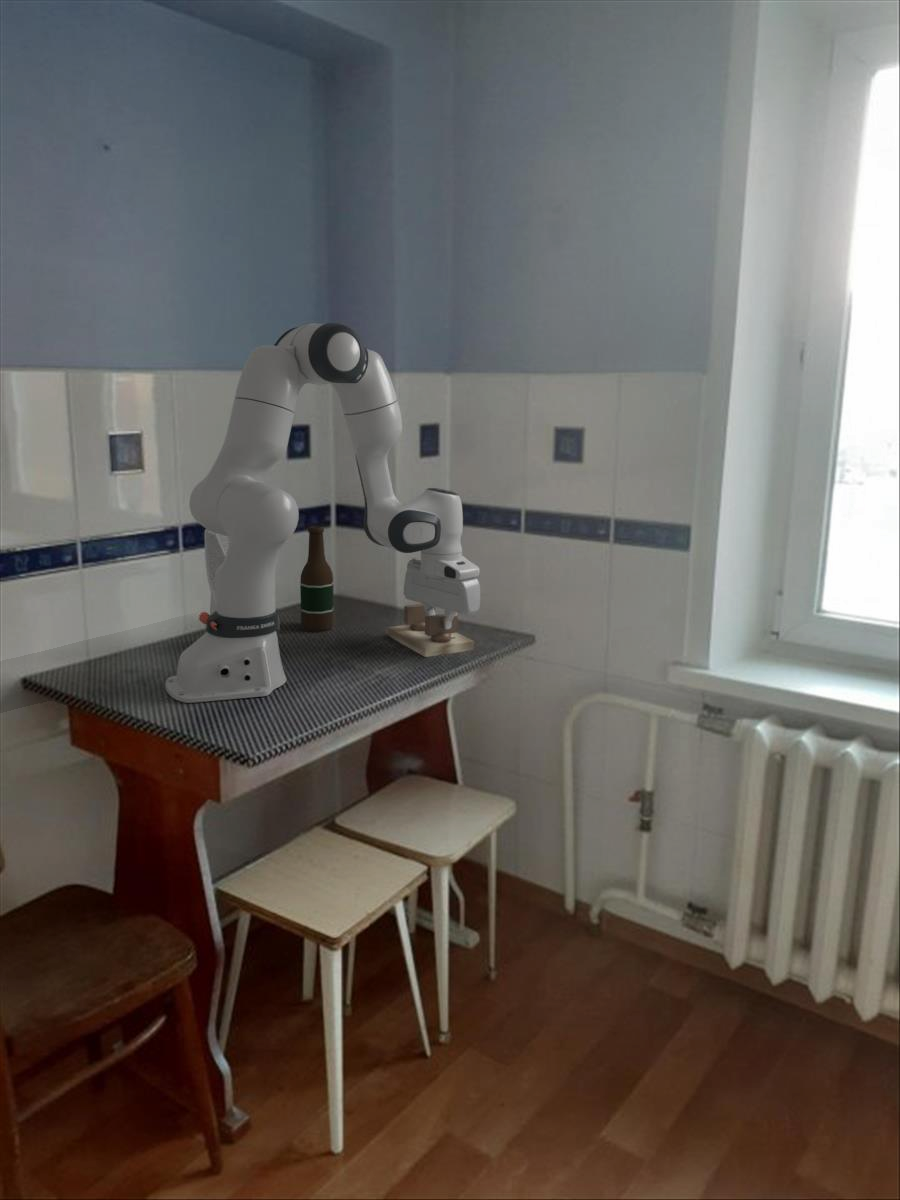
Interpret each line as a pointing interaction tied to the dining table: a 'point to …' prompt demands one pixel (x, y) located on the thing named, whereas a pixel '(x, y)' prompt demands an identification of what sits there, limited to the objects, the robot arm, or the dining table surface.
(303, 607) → the beer bottle
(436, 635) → the knob near
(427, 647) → the control panel
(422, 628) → the knob far
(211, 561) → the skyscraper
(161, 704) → the dining table surface
